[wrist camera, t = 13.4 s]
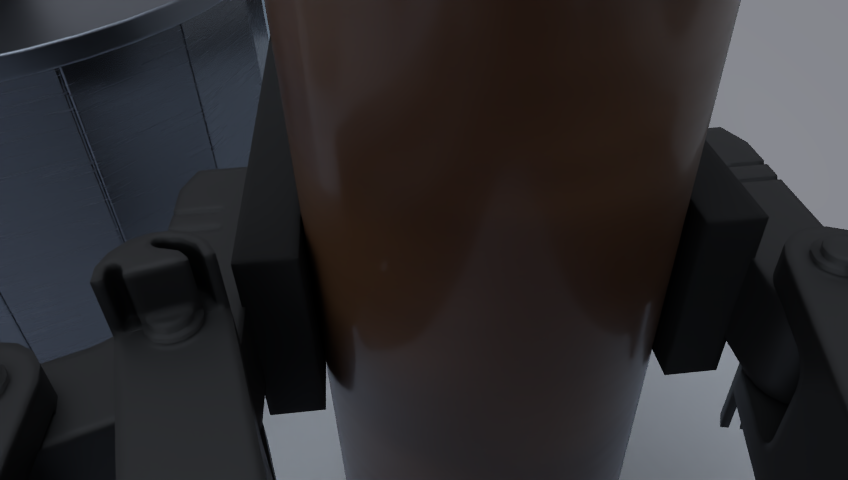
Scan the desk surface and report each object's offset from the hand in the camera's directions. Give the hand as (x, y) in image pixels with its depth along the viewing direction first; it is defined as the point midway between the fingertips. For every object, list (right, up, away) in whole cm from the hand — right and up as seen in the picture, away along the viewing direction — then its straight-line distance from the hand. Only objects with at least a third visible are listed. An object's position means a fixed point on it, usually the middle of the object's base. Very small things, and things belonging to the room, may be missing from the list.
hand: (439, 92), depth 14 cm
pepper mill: (+1, -9, 0) cm, 9 cm away
